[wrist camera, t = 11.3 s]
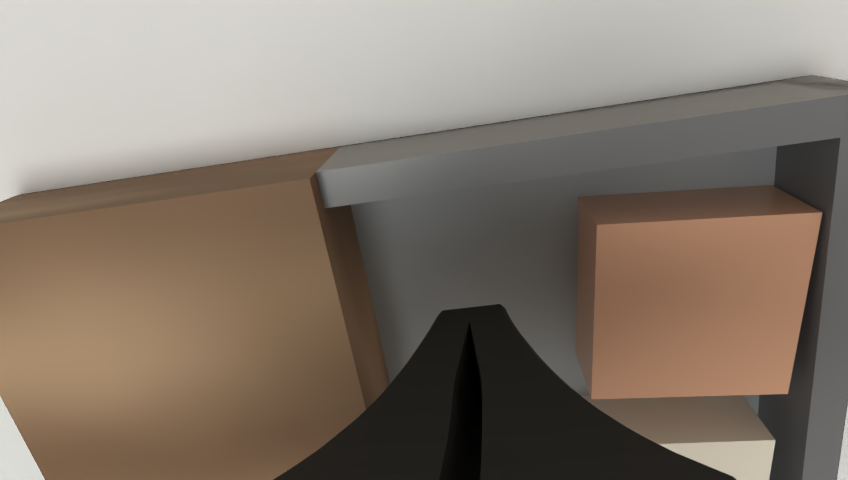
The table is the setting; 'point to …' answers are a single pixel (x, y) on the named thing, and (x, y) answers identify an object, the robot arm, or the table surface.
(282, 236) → the walnut board
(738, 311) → the terracotta tile
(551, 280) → the bin
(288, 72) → the table surface
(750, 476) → the cream tile
